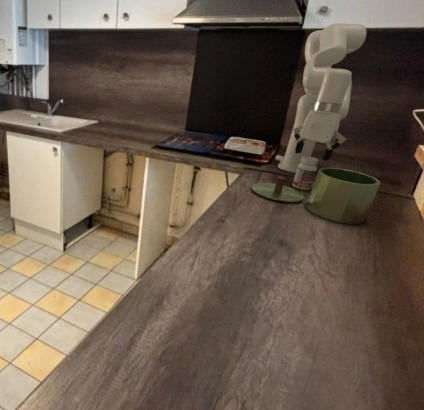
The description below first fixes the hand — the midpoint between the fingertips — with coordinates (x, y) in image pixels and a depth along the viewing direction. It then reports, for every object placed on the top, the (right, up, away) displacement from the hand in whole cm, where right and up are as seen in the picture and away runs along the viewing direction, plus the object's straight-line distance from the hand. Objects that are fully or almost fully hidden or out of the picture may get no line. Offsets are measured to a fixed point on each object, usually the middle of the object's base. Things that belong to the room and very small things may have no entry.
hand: (311, 156), depth 129 cm
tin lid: (-14, -13, -3) cm, 20 cm away
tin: (-2, -20, -15) cm, 25 cm away
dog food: (0, +10, +53) cm, 54 cm away
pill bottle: (-1, -11, +5) cm, 12 cm away
